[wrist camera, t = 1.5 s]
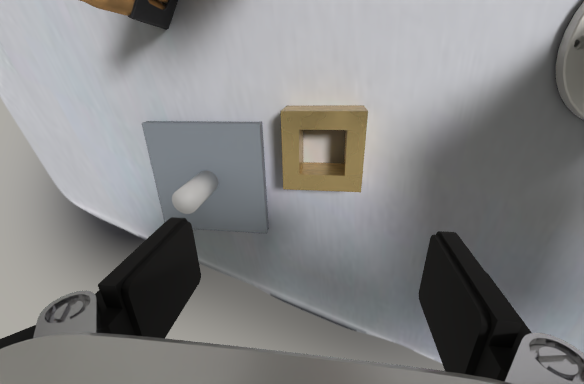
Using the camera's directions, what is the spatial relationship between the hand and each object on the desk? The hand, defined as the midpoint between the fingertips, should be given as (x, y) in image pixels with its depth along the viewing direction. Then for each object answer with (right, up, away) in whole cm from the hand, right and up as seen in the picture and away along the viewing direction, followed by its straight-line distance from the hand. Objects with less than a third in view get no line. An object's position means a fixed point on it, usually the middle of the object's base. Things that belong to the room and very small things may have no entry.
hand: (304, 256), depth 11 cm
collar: (+3, +7, +16) cm, 18 cm away
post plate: (-9, +4, +19) cm, 22 cm away
